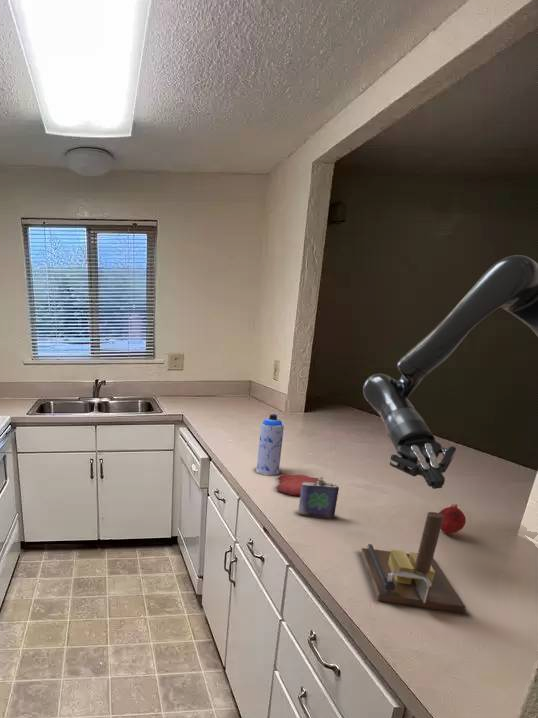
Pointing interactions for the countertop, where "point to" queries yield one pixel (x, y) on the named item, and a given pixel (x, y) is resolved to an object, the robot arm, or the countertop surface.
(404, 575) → the wooden handled slicer
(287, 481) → the patty
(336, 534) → the countertop surface
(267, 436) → the aerosol can
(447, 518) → the onion
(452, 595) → the butter board
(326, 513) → the flask
